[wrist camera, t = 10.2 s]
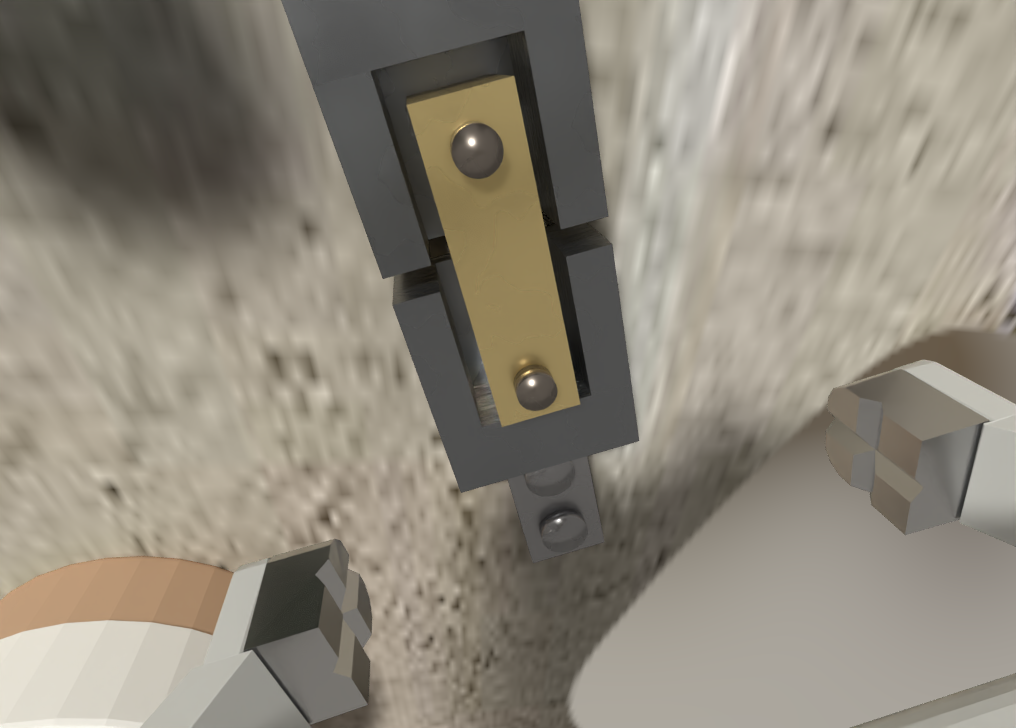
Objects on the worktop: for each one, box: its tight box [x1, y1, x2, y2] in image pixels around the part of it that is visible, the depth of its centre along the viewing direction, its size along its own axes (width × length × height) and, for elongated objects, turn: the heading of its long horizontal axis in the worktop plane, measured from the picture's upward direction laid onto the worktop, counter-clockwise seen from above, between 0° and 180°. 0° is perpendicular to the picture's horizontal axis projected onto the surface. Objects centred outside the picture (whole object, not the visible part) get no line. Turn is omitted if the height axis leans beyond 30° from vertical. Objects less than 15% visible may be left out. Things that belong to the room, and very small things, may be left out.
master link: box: [406, 74, 580, 427], centre depth 19 cm, size 11×3×6 cm, turn 13°
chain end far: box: [393, 222, 639, 563], centre depth 25 cm, size 17×8×4 cm, turn 13°
